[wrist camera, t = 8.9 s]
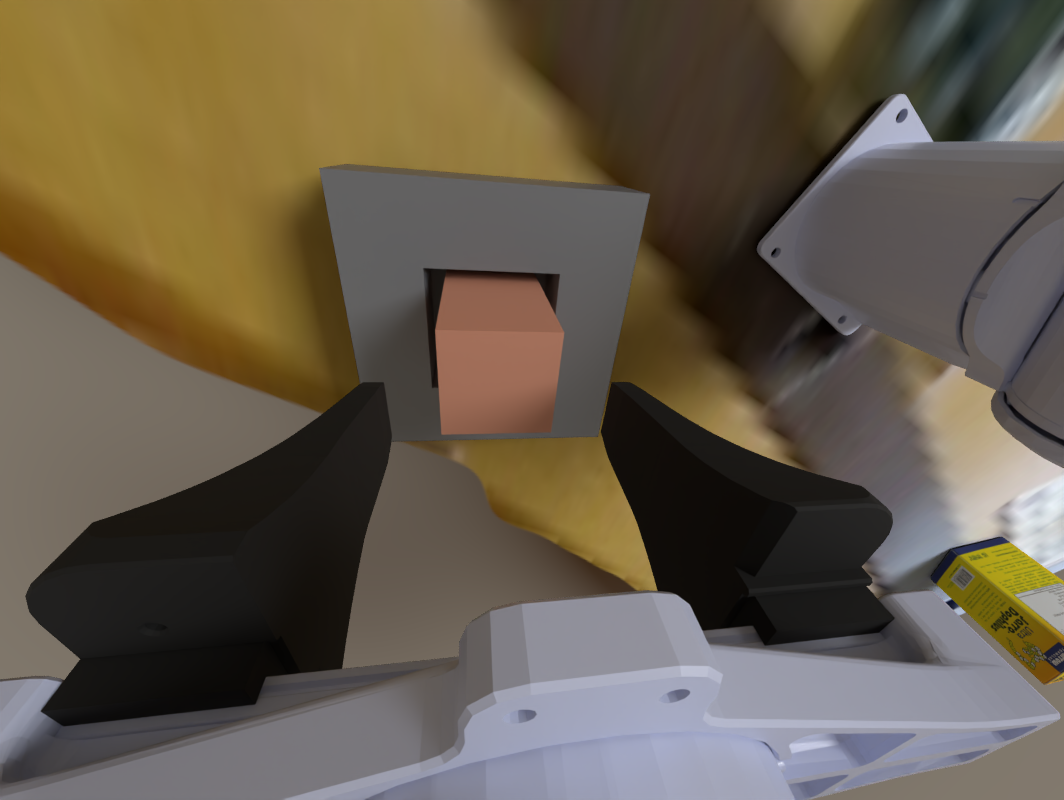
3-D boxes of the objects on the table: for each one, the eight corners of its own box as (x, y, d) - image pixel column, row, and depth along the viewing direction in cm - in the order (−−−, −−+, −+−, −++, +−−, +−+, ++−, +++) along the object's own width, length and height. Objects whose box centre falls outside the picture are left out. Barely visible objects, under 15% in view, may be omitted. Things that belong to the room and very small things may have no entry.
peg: (531, 267, 19) (564, 332, 12) (525, 342, 21) (550, 432, 14) (447, 263, 18) (434, 330, 12) (450, 340, 20) (441, 434, 14)
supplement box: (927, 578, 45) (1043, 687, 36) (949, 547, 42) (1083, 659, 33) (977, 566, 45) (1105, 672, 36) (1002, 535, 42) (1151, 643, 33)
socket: (620, 186, 18) (649, 193, 15) (582, 402, 24) (597, 436, 21) (346, 164, 16) (319, 168, 13) (383, 403, 23) (371, 442, 20)
